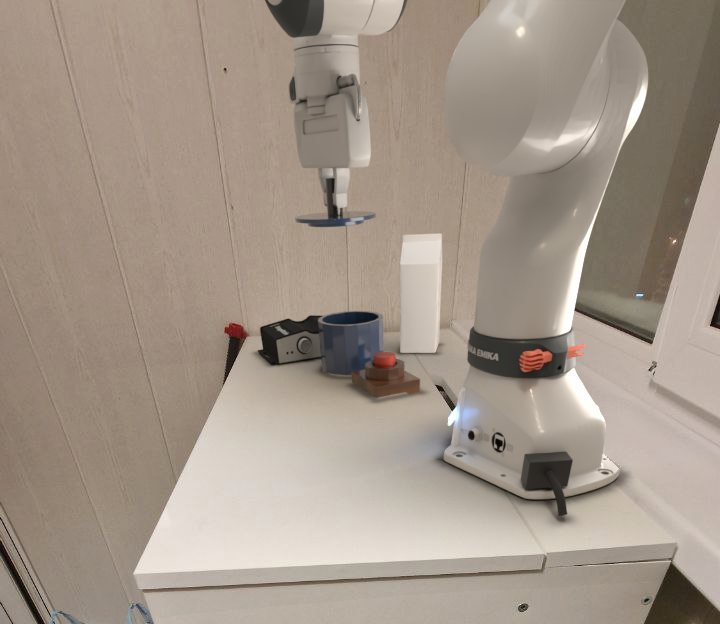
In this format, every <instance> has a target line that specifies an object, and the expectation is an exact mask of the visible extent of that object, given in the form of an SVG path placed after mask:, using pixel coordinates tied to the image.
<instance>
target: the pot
mask: <svg viewBox="0 0 720 624" xmlns="http://www.w3.org/2000/svg"><path fill="white" fill-rule="evenodd" d="M321 316H322V317H320V318H319V319H318V328H319V339H320V351H321V358H320V360H321V362H320V363H321V370H322V373H323V374H332V375H337V376H338V375H339V376H352V372H353V371H359V370H364V369H365V364H366V362H369V361H371V360H374V354H376V353H379V352H385V349H384V345H385V343H384V317H383V316H384V315H383V314H381V313H379V312H376V311H369V310H347V311H345V310H344V311H338V312H331V313H328V314H323V315H321Z"/></svg>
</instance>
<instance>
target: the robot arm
mask: <svg viewBox="0 0 720 624" xmlns="http://www.w3.org/2000/svg"><path fill="white" fill-rule="evenodd" d="M264 1H265V4H266V6H267V8H268V10H269V12H270V13H271V15H272V17H273V18H274V20H275V21H276V23H278V25H279V27H280V28H281V29H282V30H283V31H284V33H286V35H287V36H288V37H290V38H294V40H293V57H294V66H293V71H292V72H293V73H292V75H291V78H290V80H289V82H288V86H287V92H288V101H289V104H291V105H294V107H293V124H294V133H295V141H296V148H297V154H298V159H299V162H300V165H301V167H302V168H303V169H317V172H318V180H319V184H320V187H321V190H322V194H323V195H322V196H323V197H322V198H323V205H324V206H325V207H327V197H326V182H325V178H332V177H333V178H335V185H334V193H332V196H333V206H334V207H335V208H343V209H344V208H347V207H348V190H349V184H350V180H351V170H350V169H359V168H368V167H369V166H370V162H371V158H372V144H371V129H370V127H371V126H370V115H369V108H368V102H367V98H366V96H365V95H364V93H363V92H362V91H363V90H362V86H361V69H360V68H361V66H360V46H359V36H379V35H384V34H385V33H389V32H391V31H392V30H394V28H395V27H396V25H398V23H399V21H400V20H401V18H402V16H403V14H404V11H405V10H406V8H407V7H406V6H407V3H408V0H264ZM626 1H627V0H489V2H488V3H487V5H486V6H485V8H484V9H483V10H482V12H481V13H480V15H479V16H478V17H477V18H476V19H475V21H473V23H472V24H471V25H470V26H469V27H468V28H467V29H466V30H465V32H464V33H463V35H462V36H461V38H460V39H459V41H458V43H457V45H456V47H455V49H454V51H453V54H452V56H451V59H450V61H449V64H448V68H447V71H446V75H445V79H444V81H445V82H444V85H443V96H442V113H443V120H444V127H445V131H446V134H447V138H448V140H449V142H450V145H451V146H452V149H453V150H454V152H455V153H456V155H457V156H458V157H459V158H460V159H461V160H462V161H463V162H464V163H466V164H468V165H470V166H472V167H473V168H476V169H478V170H480V171H483V172H485V173H489V174H491V175H495V176H498V177H503V178H509V180H508V184H507V187H506V191H505V195H504V198H503V201H502V205H501V206H500V210H499V213H498V216H497V218H496V220H495V222H494V224H493V226H492V228H491V230H490V231H489V232H488V234H487V235H486V236H485V239H484V241H483V243H482V245H481V248H480V252H479V255H478V267H477V279H476V280H477V281H476V291H475V292H476V293H475V304H474V305H475V306H474V317H473V320H474V321H473V326H472V327H471V328H470V330H469V334H468V335H469V337H468V340H467V346H466V347H467V357H466V360H467V363H468V364H469V368H468V371H467V374H466V377H465V379H464V381H463V383H462V385H461V387H460V389H459V391H458V395H457V401H456V407H455V408H454V409H453V410H452V411H451V413H450V415H449V416H448V417H447V418H448V419H447V421H448V422H447V426H451V425H452V424H453V429H452V435H451V442H450V444H449V446H447V447H446V448H445V449H444V452H443V457H442V460H443V461H444V462H446V463H447V464H450V465H452V466H455V467H457V468H458V469H460V470H463V471H465V472H467V473H469V474H471V475H472V476H473V475H474V476H475V477H478V478H480V479H481V480H484V481H486V482H489V483H490V484H493V485H494V486H497V487H499V488H501V489H502V490H506V491H507V492H509V493H512V494H514V495H516V496H519V497H521V498H523V499H527V500H551V499H553V500H554V499H555V502H556V508H557V515H558V517H563V516H567V515H568V510H567V502H566V498H567V497H572V496H576V495H580V494H584V493H588V492H591V491H594V490H597V489H600V488H602V487H605V486H607V485H609V484H611V483H612V482H614V481H615V480H617V478H618V477H619V476H620V474H621V466H620V469H619V468H618V467H617V466H616V465H615V464H614V463H613V462H612V461H610V460H609V458H610V457H609V458H607V456H608V455H606V454H605V453H604V449H605V444H606V442H605V441H606V431H607V430H606V429H607V427H606V420H605V418H604V416H603V415H602V413H601V412H600V410H601V409H600V407H599V405H598V404H596V403H595V401H594V400H593V399H592V397H591V395H590V393H589V391H588V390H587V389H586V387H585V385H584V383H583V381H582V380H581V379H580V376H579V375H578V373H577V371H576V369H575V367H576V366H577V358H578V357H582V356H584V355H585V353H584V352H577V351H581V350H583V349H584V348H586V347H587V346H586V344H578V345H576V338H575V337H576V336H575V329H574V328H573V326H572V325H573V319H574V313H575V308H576V304H577V297H578V292H579V287H580V283H581V276H582V271H583V266H584V261H585V257H586V252H587V248H588V244H589V240H590V237H591V234H592V231H593V228H594V225H595V221H596V218H597V216H598V212H599V210H600V207H601V205H602V204H601V203H602V201H603V199H604V195H605V192H606V190H607V188H608V185H609V182H610V179H611V176H612V173H613V170H614V167H615V165H616V162H617V160H618V157H619V154H620V151H621V149H622V146H623V144H624V143H625V140H626V139H627V137H628V135H629V134H630V133H631V131H632V130H633V128H634V127H635V125H636V123H637V121H638V120H639V117H640V115H641V112H642V109H643V107H644V104H645V101H646V97H647V91H648V87H649V67H648V61H647V57H646V53H645V52H644V49H643V48H642V46H641V44H640V43H639V41H638V40H637V38H636V37H635V35H634V34H633V33H632V32H631V30H629V28H628V27H627V26H626V25H625V24H624V23H623V22H622V21H620V20H619V19H618V18H619V15H620V14H621V11H622V9H623V7H624V5H625V3H626ZM605 455H606V456H605Z"/></svg>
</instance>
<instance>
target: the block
mask: <svg viewBox="0 0 720 624" xmlns="http://www.w3.org/2000/svg"><path fill="white" fill-rule="evenodd" d="M405 364H406V363H405V361H404V360H402V359H399V358H396V365H395V366H391V367H375V366H374V360H371V361H369V362H366V364H365V369H364V370H359V371H353V372H352V375H351V379H352V380H351V381H352V383H353V384H355V385H356V386H357V387H359V388H361V389H362V390H364V391H366V392H367V393H368V394H370V395H372V396H373V397H375V398H382V397H388V396H394V395H397V394H402V393H406V394H408V395H412V394H418V393H421V389H420V388H421V378H420V377H417V376H416V375H414V374H412V373H410V372H408V371H406V370H405V366H406V365H405Z"/></svg>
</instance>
